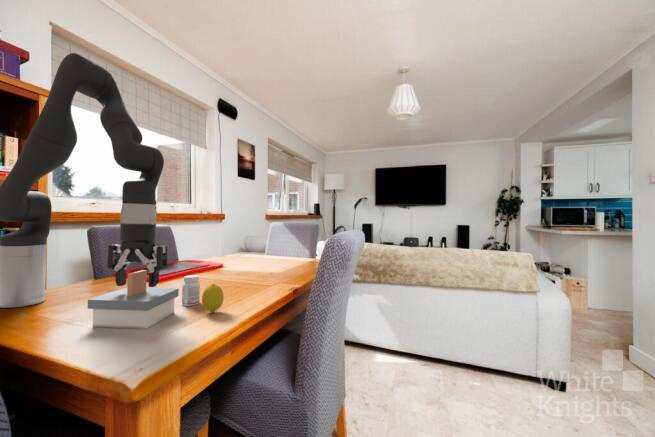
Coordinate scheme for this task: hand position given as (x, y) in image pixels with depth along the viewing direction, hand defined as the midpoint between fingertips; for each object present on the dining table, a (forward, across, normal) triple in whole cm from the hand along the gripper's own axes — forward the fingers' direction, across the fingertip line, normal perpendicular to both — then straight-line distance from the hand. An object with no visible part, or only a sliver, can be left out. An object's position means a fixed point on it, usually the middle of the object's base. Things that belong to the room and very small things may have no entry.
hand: (137, 285), depth 71 cm
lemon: (+9, +16, +7) cm, 20 cm away
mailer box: (+9, 0, 0) cm, 9 cm away
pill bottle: (+9, +6, +14) cm, 18 cm away
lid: (+4, 0, 0) cm, 4 cm away
